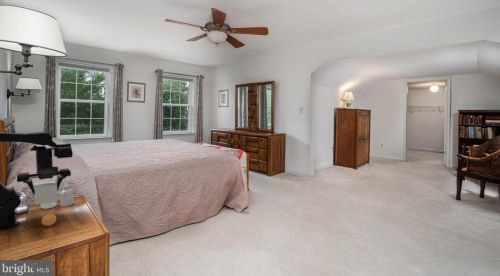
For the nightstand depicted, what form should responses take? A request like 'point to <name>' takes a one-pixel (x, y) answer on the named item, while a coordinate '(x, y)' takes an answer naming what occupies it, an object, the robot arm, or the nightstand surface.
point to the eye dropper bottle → (66, 196)
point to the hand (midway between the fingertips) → (45, 193)
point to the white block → (45, 192)
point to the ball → (49, 219)
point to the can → (48, 205)
